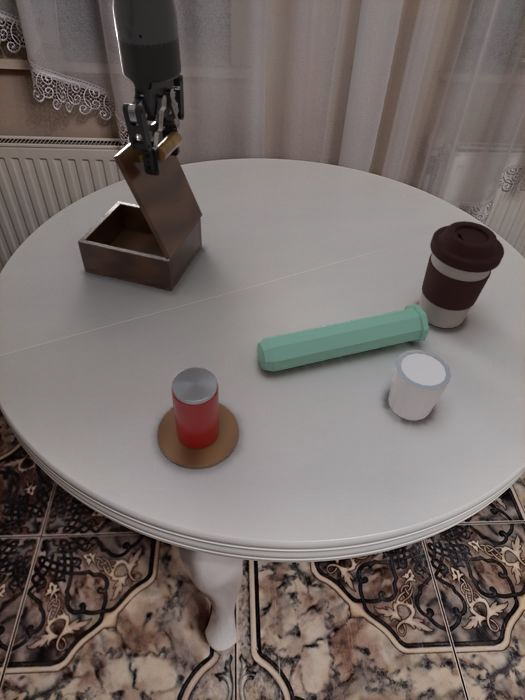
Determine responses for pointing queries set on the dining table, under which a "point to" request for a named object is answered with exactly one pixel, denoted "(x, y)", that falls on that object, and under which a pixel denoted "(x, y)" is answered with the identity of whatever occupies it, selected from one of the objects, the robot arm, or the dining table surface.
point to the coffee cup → (458, 271)
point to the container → (343, 339)
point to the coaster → (204, 455)
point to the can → (196, 407)
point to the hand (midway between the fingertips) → (163, 163)
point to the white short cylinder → (417, 384)
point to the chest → (135, 249)
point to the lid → (162, 193)
